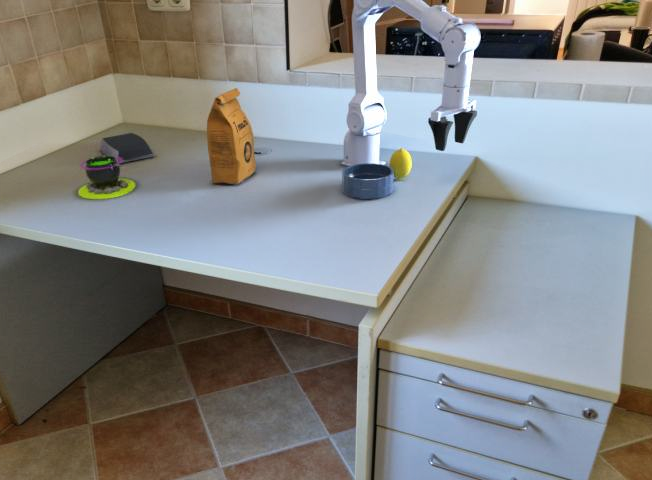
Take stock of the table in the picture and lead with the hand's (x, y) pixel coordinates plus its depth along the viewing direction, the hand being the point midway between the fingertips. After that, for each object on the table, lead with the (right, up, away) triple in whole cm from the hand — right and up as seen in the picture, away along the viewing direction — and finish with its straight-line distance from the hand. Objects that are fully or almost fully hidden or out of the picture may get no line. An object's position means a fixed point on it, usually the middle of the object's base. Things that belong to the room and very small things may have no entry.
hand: (449, 146), depth 142 cm
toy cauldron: (-87, -6, +17) cm, 89 cm away
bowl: (-19, -9, +6) cm, 22 cm away
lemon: (-10, -5, +11) cm, 16 cm away
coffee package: (-53, -3, +19) cm, 56 cm away
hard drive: (-88, +12, +43) cm, 99 cm away
